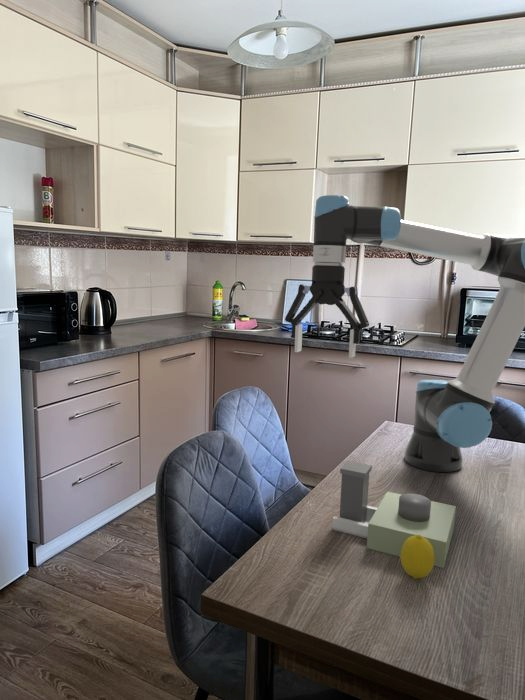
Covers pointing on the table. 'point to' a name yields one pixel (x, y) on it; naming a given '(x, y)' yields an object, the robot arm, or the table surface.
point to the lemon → (417, 556)
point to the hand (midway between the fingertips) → (324, 354)
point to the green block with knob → (404, 524)
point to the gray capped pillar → (354, 491)
